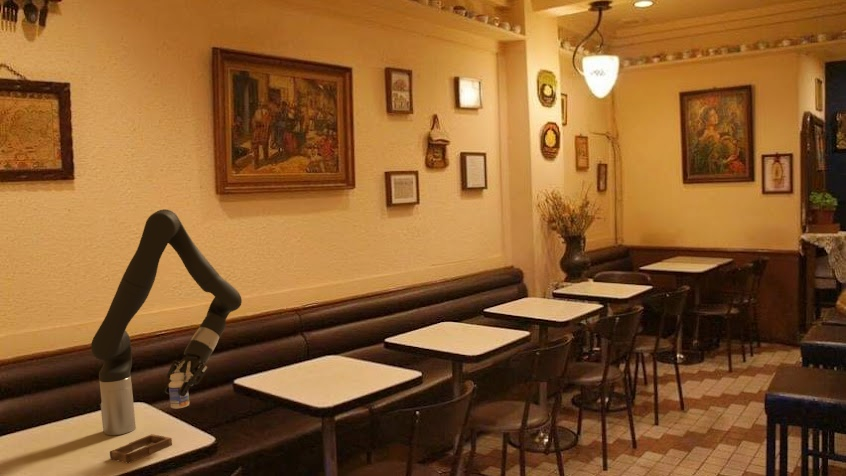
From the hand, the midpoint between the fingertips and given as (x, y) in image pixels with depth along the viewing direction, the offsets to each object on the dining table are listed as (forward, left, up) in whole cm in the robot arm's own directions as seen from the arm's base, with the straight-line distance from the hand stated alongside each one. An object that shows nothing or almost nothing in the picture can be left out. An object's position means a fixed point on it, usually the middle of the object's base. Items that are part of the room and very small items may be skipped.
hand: (174, 393), depth 208 cm
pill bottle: (0, +2, -5) cm, 5 cm away
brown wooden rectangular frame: (-6, -8, -15) cm, 19 cm away
